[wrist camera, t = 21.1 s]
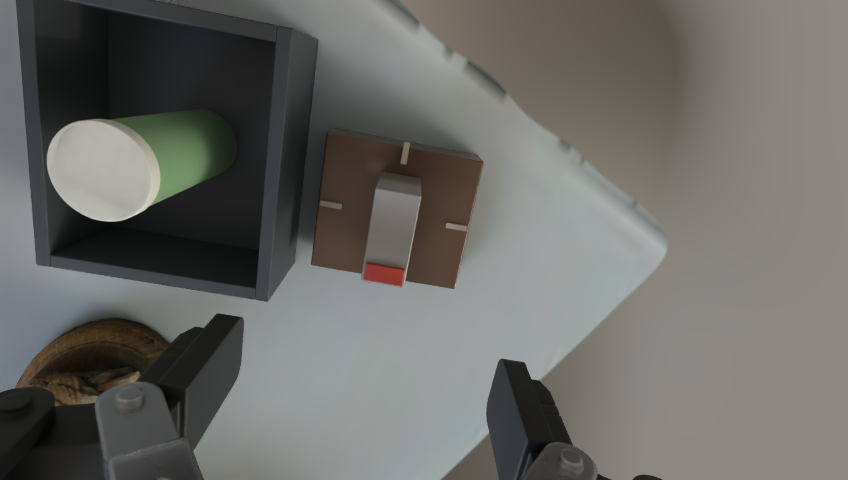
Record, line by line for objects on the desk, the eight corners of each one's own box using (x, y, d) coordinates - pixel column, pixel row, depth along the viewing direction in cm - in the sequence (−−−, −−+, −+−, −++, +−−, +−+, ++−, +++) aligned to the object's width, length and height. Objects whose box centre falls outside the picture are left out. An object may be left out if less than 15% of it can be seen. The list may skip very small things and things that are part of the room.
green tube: (169, 170, 32) (49, 212, 22) (170, 101, 31) (42, 110, 20) (237, 182, 32) (151, 229, 22) (241, 114, 31) (152, 131, 21)
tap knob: (382, 171, 30) (375, 188, 25) (420, 178, 30) (421, 197, 25) (369, 251, 32) (360, 282, 27) (405, 257, 32) (403, 290, 27)
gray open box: (106, 231, 34) (36, 265, 28) (99, -5, 29) (13, -29, 23) (294, 262, 35) (267, 302, 29) (318, 39, 30) (292, 28, 24)
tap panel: (318, 254, 35) (309, 271, 32) (335, 122, 32) (326, 126, 29) (450, 277, 36) (454, 295, 32) (479, 149, 32) (485, 156, 29)
